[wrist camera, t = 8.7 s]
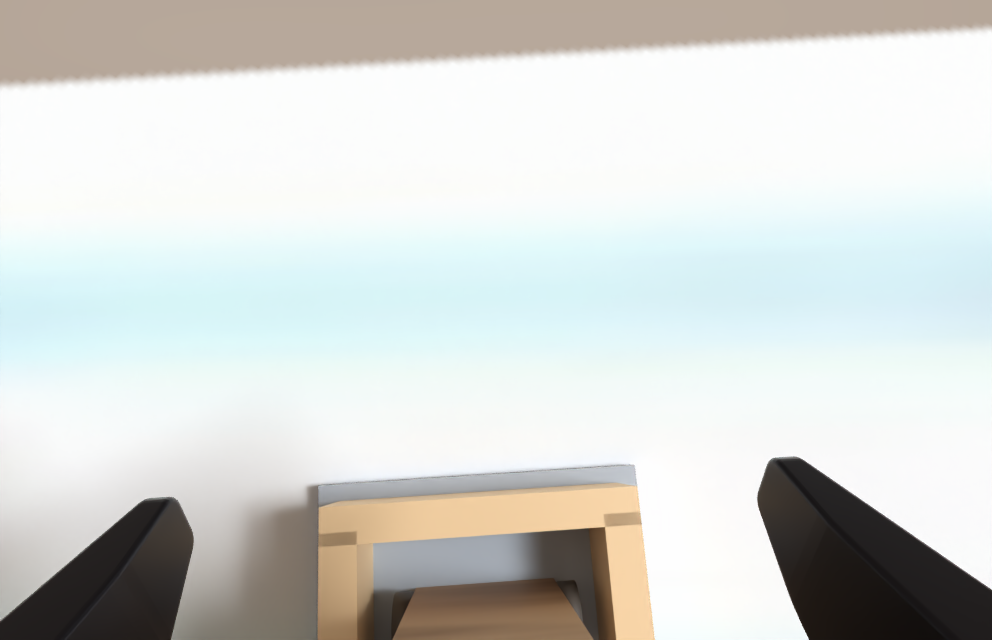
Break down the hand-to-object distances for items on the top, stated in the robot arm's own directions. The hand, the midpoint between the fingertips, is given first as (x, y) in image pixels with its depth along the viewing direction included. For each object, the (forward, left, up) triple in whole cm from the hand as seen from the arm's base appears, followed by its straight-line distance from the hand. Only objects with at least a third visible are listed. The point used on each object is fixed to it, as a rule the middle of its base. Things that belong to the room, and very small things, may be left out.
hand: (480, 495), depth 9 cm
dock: (-2, -5, -14) cm, 15 cm away
